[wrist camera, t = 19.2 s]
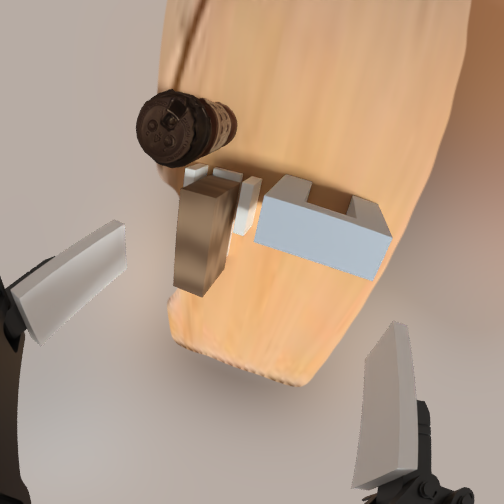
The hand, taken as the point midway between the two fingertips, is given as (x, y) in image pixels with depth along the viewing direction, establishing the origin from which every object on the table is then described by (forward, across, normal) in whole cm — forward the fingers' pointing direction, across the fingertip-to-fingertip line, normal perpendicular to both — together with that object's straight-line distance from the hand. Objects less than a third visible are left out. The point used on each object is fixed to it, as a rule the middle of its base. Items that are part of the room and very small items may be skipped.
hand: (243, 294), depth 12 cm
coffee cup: (+27, -14, +3) cm, 30 cm away
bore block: (+26, +3, -4) cm, 27 cm away
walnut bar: (+25, -11, -11) cm, 29 cm away
